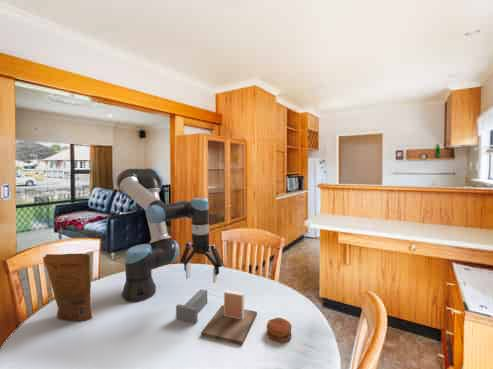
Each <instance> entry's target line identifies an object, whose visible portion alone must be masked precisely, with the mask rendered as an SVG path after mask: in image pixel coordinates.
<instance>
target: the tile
mask: <svg viewBox="0 0 493 369" xmlns="http://www.w3.org/2000/svg"><path fill="white" fill-rule="evenodd" d="M223 305H224V316H228V317H233V318H238V319H243V318H244V309H245V292H241V291H240V292H239V291H235V290H228V289H225V290H224V291H223Z"/></svg>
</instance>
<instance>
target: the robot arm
mask: <svg viewBox="0 0 493 369" xmlns="http://www.w3.org/2000/svg"><path fill="white" fill-rule="evenodd" d="M163 180H164V179H163V176H162V174H161V172H160V171H159V170H158V169H156V168H150V167H149V168H126V169H124V170H123V171H121V172H120V173H119V174H118V176H117V177H116V186H117V188H118V190H119V191H120V192H121V193H122V194H124V195H128V196H129V197H130V198H131V199H132V200H133V201H134V202H136V203H137V205H139V206H140V207H141V208H143V210H144V212H145V217H146V219H147V224H148V228H149V232H150V233H149V234H150V241H149V244H148V243H142V244H137V245H133V246H131V247H129V248H128V249H127V250H126V252H125V254H124V255H125V256H124V263H125V264H124V267H125V282H124V286H123V290H122V292H121V294H122V300H124V301H126V302H132V303H133V302H140V301H142V302H143V301H144V300H147V299H149V298H151V297H153V296H154V295H155V294H156V291H157V290H156V288H157V287H156V284H155V282H154V279H153V276H152V274H153V273H152V272H153V270H155V269H158V268H161V267H164V266H169V265H170V264H173V263H175V262H176V261H177V260H178V257H179V255H180V246H179V243H178V242H177V241H176V240H173V237H172V236H171V235H169V233H168V228H167V224H166V222H168V221H175V220H179V219H190V220H191V233H192V235H191V241H189V242H187V243H186V244H185V249H184V251H183V253H182V256H181V258H180V259H179V260H180V261H179V262H180V263H182V264H183V269H184V271H185V279H186V280H188V279H189V278H191V276H192V275H191V262H190V261H191V260H192V259H193V257H194V256H195V255H196V254H197V255H204V256H205V257H206V258H207V259H208V260H209V262H210V263H211V264H212V266H213V268H212V282H213V283H214V284H216V282H218V275H219V274H220V268H221V267H222V266H223V265H224V263H223V260H222V259H221V257H220V253H219V251H218V250H217V245H216V243H213V244H210V233H209V232H210V224H209V223H210V221H209V220H210V217H209V215H210V213H209V212H210V210H209V209H210V207H209V200H208V198H205V197H196V198H195V197H194V198H192V199H191V200H190V201H189V200H188V201H186V200H179V201H176V202H170V203H164V202H163V201H162V200H161V198H160V192H161V188H162V186H163V185H164V183H163V182H164V181H163ZM191 248H192V249H193V250H191ZM190 250H191V253H189V252H190ZM188 254H189V255H188Z"/></svg>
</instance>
